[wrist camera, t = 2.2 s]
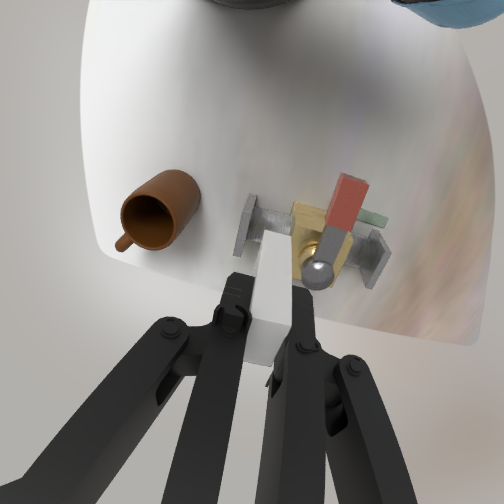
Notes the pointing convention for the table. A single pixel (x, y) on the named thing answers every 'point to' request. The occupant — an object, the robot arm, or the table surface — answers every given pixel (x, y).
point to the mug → (158, 211)
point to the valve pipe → (316, 238)
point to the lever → (334, 232)
